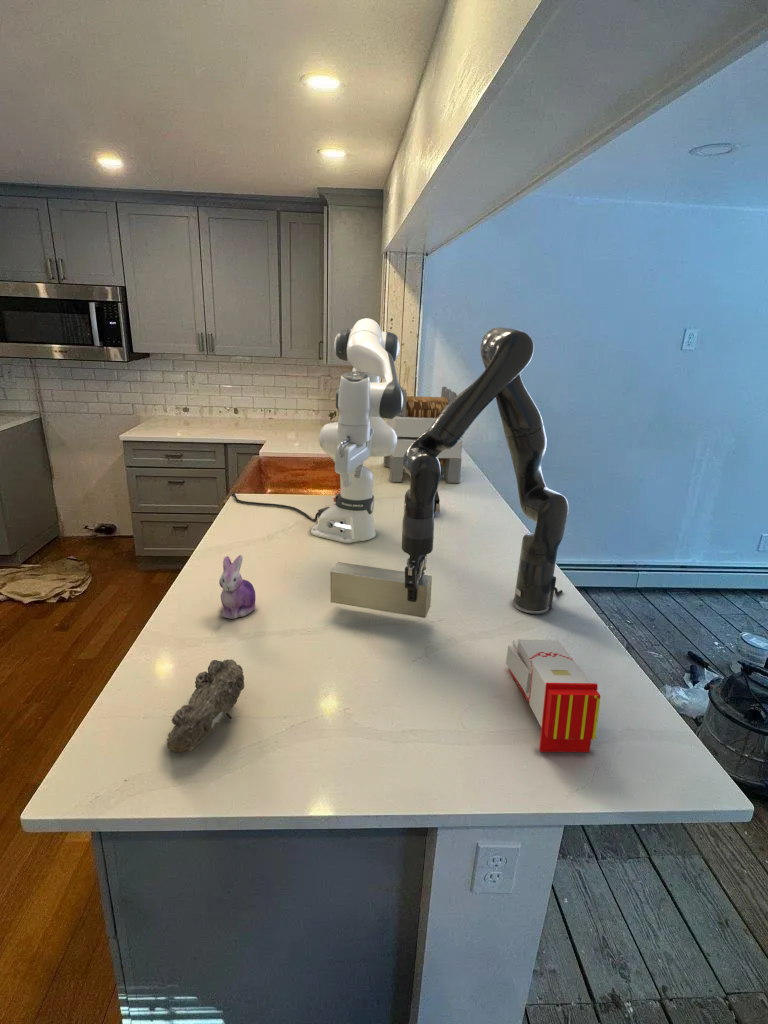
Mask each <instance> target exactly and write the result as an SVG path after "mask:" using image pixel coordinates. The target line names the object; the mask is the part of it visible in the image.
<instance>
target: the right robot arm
mask: <svg viewBox="0 0 768 1024" xmlns="http://www.w3.org/2000/svg"><path fill="white" fill-rule="evenodd" d="M534 351H535V344H534V341H533V338H532V337H531V336H530V334H529V333H527V332H525V331H524V330H523V331H522V330H520V329H514V328H509V327H499V326H498V327H493V328H491V329H489V330H488V331H487V332H486V333H485V334H484V336H483V337H482V339H481V343H480V357H481V360H482V363H483V365H484V368H485V369H484V370H483V372H482V373H481V374H480V375H479V377H477V379H475V380H474V381H473V382H472V383H471V384H470V385H469V386H468V387H467V388H465V389H464V390H463V391H461V392H460V393H458V394H456V395H457V396H456V397H455V398H454V399H453V400H452V401H451V402H450V403H449V404H448V405H447V406H446V407H445V408H444V409H443V411H442V412H441V413H440V415H439V416H438V417H437V419H436V420H435V421H434V423H433V424H432V425H431V427H430V428H429V429H428V430H427V431H426V432H425V433H423V434H422V435H421V436H420V437H419V438H418V439H417V440H416V441H415V442H414V443H413V444H412V445H411V446H410V447H409V448H408V449H407V451H406V452H405V454H404V457H403V460H402V465H403V471H405V473H406V474H408V475H409V476H410V486H409V488H408V490H406V491H405V494H404V500H403V516H402V527H401V550H402V552H403V553H405V554H407V555H408V557H407V559H406V566H405V568H404V572H405V588H407V589H408V594H407V600H408V601H411V602H416V600H417V587H418V580H419V579H420V578H421V574H423V575H426V574H425V571H426V570H427V561H428V560H427V559H428V555H429V554H431V553H432V552H433V550H434V537H435V517H434V498H435V495H436V492H437V491H438V488H439V484H440V479H441V475H442V474H441V467H440V462H439V460H438V458H437V456H438V455H439V454H440V453H441V452H442V451H443V450H449V449H452V448H453V447H454V446H455V445H456V444H457V442H458V441H459V440H460V439H462V438H461V437H462V436H463V437H464V434H466V432H467V431H468V429H469V428H470V426H471V425H472V424H473V423H474V421H476V419H477V418H478V417H479V416H480V415H481V413H482V412H483V411H484V410H485V409H486V408H487V406H489V404H490V403H492V402H493V401H494V400H496V404H497V409H498V413H499V416H500V420H501V424H502V428H503V433H504V437H505V441H506V445H507V448H508V451H509V454H510V459H511V462H512V467H513V471H514V474H515V478H516V485H517V491H518V492H517V493H518V499H519V506H520V509H521V512H522V514H523V515H524V516H525V517H526V518H527V519H529V520H530V521H532V522H534V523H536V524H535V528H534V532H532V531H531V532H528V533H525V534H524V535H523V536H522V538H521V539H522V540H521V546H520V554H519V561H518V569H517V576H516V584H515V589H514V597H513V600H512V601H513V602H512V604H513V607H514V608H515V609H516V610H518V611H520V612H522V613H525V614H529V615H530V614H531V615H542V614H543V615H544V614H545V613H547V612H548V611H549V610H552V608H553V602H554V594H555V595H557V596H558V595H561V594H562V593H563V590H562V589H561V590H559V591H558V588H557V587H556V582H557V577H556V576H555V569H556V563H557V555H558V550H559V546H560V545H561V543H562V540H563V538H564V535H565V531H566V525H567V521H568V516H569V502H568V499H567V497H566V496H565V495H563V494H561V493H559V492H558V491H555V490H553V489H550V488H548V486H547V485H546V482H545V480H544V475H543V472H542V462H543V459H544V456H545V453H546V449H547V443H548V441H547V435H546V429H545V425H544V421H543V418H542V415H541V412H540V410H539V409H538V406H537V405H536V403H535V401H534V400H533V398H532V397H531V395H530V393H529V391H528V390H527V388H526V386H525V384H524V382H523V379H522V375H521V373H522V372H523V371H524V370H525V369H526V367H527V366H528V365H529V364H530V363H531V360H532V358H533V355H534ZM416 573H417V574H418V575H416ZM410 581H411V582H413V583H410Z"/></svg>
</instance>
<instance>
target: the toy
mask: <svg viewBox="0 0 768 1024" xmlns="http://www.w3.org/2000/svg"><path fill="white" fill-rule="evenodd" d="M505 659H506V660H505V665H506V666H507V667H508V671H509V673H510V674H511V676H512V678H513V679H514V681H515V682H516V685H517V686H518V688H519V690H520V691H521V692H522V694H523V697H525V699H526V701H527V703H529V707H530V709H531V711H532V712H533V714H534V716H535V718H536V720H537V722H538V724H539V726H540V728H541V729H540V739H539V748H538V751H539V752H540V753H543V752H544V753H590V752H591V744H592V743H591V742H592V740H596V736H597V727H598V720H599V719H598V718H599V710H600V704H601V703H600V702H601V696H602V695H601V694H600V693H599V692H598V687H599V686H598V683H595V682H594V683H592V682H591V681H590V679H589V678H588V677H587V676H586V674H585V673H584V671H583V670H582V669H581V668H580V666H579V665H578V664H577V663H576V662H575V661H576V660H574V659H573V658H572V656H571V655H570V653H568V651H567V650H566V648H565V647H564V645H563V644H562V643H561V642H560V641H559V639H529V638H528V639H524V638H521V639H517V640H512V645H511V644H510V645H509V644H508V646H507V653H506V658H505Z"/></svg>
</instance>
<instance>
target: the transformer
mask: <svg viewBox="0 0 768 1024" xmlns="http://www.w3.org/2000/svg"><path fill="white" fill-rule="evenodd" d="M400 388H401V391H402V395H403V406H402V410H401V412H400V413H399V414H398V415H397V416H396V417H394V418H393V419H387V418H385V423H386V424H388V425H389V426H390V427H392V428H393V430H394V431H395V433H396V435H397V446H396V449H395V450H394V452H393V453H392V454H391V455H390V456H384V457H383V466H384V467H388V468H389V475H388V476H389V477H388V478H389V480H390V482H391V483H402V482H403V475H404V468H403V465H402V460H403V457H404V454H405V452H406V451H407V449H408V448H409V447H410V446H411V445H412V444H413V443H414V442H415V441H416V440H417V439H418V438H419V437H420V436H421V435H422V434H423V433H425V432H426V431H427V430H428V429H429V428H430V427H431V425H432V424H433V423H434V421H435V420H436V419H437V417H438V416H439V415H440V413H441V412H442V411H443V409H444V408H445V407H446V406H447V405H448V404H449V403H450V402H451V401H452V400H453V399H454V398H455V397H456V396H457V395H458V394H457V392H455V391H453V390H452V389H451V388H447V386H442V387H441V392H440V393H441V394H440V396H415V395H414V396H413V395H412V396H411V395H407V394H408V393H407V390H406V389H404V388H403V387H402V385H400ZM463 438H464V435H463V436H462V437H461V438H460V440H459V441H458V442H457V444H456V445H455V446H454V447H453V448H452V449H449V450H443V451H442V452H441V453H440V454H439V455H438V456H437V458H438V460H439V462H440V467H441V475H443V478H444V479H445V481H446V482H447V483H449V484H455V483H456V484H459V483H461V472H462V461H463V460H462V453H463V442H464V441H463V440H462V439H463Z"/></svg>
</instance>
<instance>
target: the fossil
mask: <svg viewBox="0 0 768 1024" xmlns="http://www.w3.org/2000/svg"><path fill="white" fill-rule="evenodd" d="M243 670H244V669H243V667H242V665H240V664H237V662H236V661H235V660H234V659H232V658H231V659H227V658H226V659H224V660H223V661H222V660H217V659H212V660H211V661H210V663H209V665H208V666H207V671H201V672H199V673H198V674H197V675H196V676H195V680H194V684H195V685H194V687H195V689H194V690H193V693H192V694H191V697H190V698H189V700H188V704H184V705H182V706H181V707H180V709H177V710H176V711H175V713H174V715H173V716H172V718H171V723H172V724H173V727H172V730H171V731H170V732H168V734H167V738H166V741H167V742H166V745H167V749H168V750H169V751H173V752H174V753H176V754H178V753H182V752H188V751H189V752H192V751H193V750H195V748H196V747H197V746H199V744H200V743H201V742H203V741H204V740H205V739H206V738H207V737H208V736H209V735H210V734H211V733H212V732H214V730H215V729H217V727H218V726H219V724H220V722H221V721H222V720H223V719H224V718H225V716H226V717H227V719H229V720H233V717H232V715H230V714H229V710H230V709H231V708H234V706H235V704H236V703H237V702H238V699H239V697H240V695H241V693H242V691H243V690H245V689H244V688H245V675H244V671H243Z"/></svg>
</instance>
